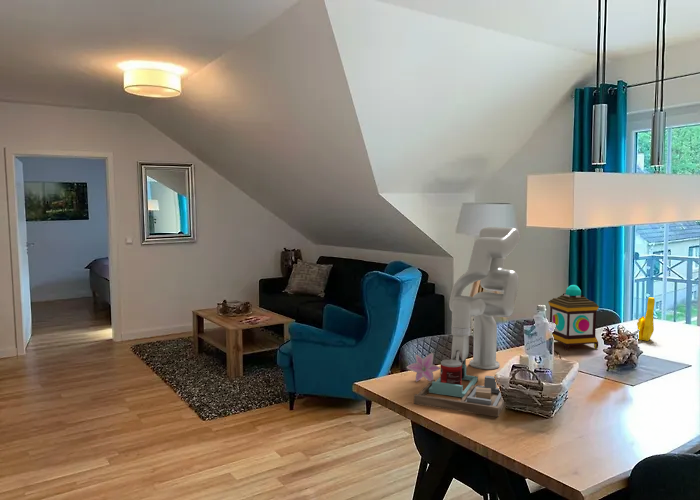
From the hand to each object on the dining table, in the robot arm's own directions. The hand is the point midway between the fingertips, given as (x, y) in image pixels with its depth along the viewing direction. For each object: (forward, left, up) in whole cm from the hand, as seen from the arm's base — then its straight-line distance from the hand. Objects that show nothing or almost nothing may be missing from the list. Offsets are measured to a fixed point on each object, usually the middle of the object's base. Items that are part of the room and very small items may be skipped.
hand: (460, 376), depth 223 cm
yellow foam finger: (-101, +70, -1) cm, 122 cm away
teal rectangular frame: (+10, 0, -1) cm, 10 cm away
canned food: (+16, 0, -1) cm, 16 cm away
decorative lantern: (-74, +37, -1) cm, 82 cm away
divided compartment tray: (+22, +6, -1) cm, 23 cm away
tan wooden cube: (+23, +14, -1) cm, 27 cm away
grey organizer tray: (+20, +14, -1) cm, 25 cm away
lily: (+6, -13, -1) cm, 15 cm away
